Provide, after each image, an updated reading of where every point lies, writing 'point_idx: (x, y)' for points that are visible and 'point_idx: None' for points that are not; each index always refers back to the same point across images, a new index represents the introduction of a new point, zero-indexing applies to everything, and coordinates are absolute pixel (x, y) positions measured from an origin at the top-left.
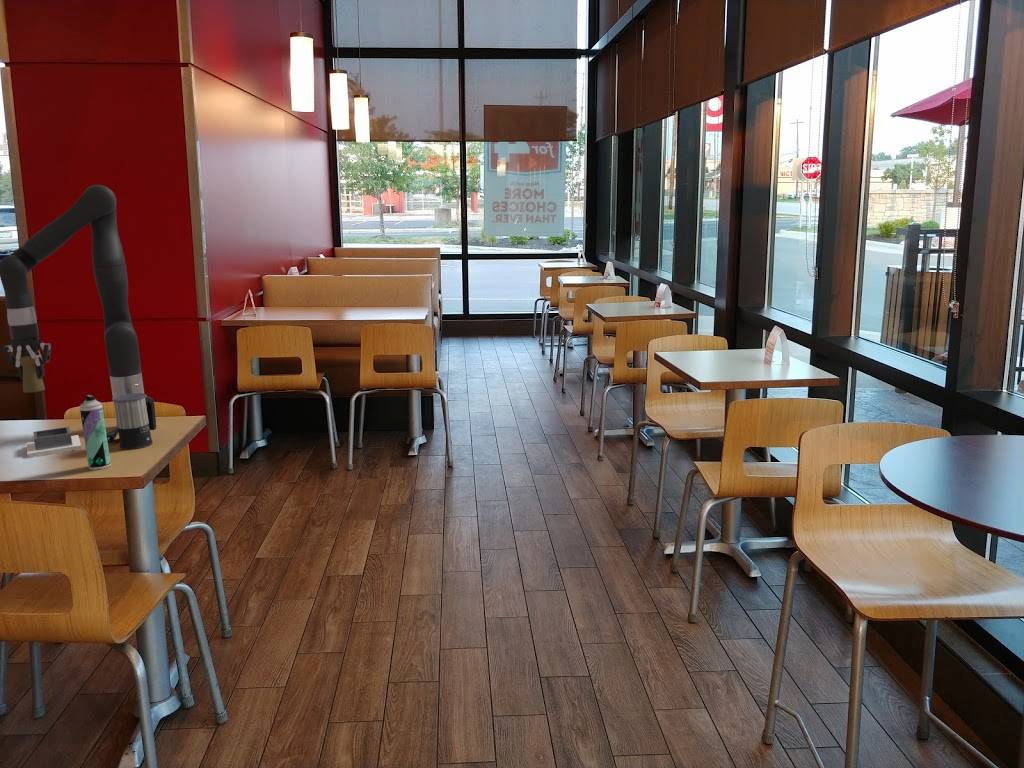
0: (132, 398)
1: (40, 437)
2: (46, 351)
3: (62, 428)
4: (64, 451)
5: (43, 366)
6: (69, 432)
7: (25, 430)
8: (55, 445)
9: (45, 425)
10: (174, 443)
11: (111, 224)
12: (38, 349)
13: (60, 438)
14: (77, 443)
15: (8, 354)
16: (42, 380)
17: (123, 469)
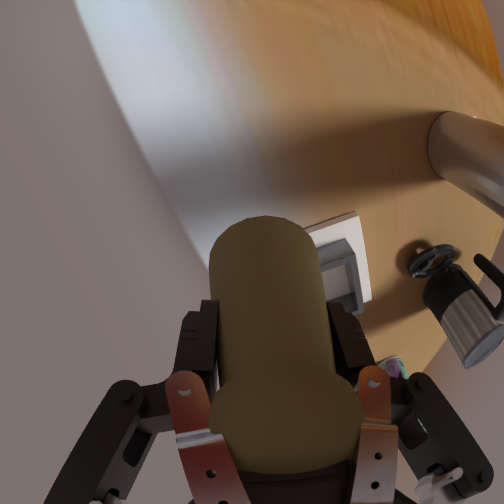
0: (485, 352)
1: None
2: (433, 466)
3: (340, 265)
4: None
5: (373, 363)
6: (361, 305)
7: (151, 66)
8: None
9: (194, 17)
10: (477, 285)
11: None
12: (394, 494)
13: None
14: (364, 286)
15: (125, 488)
16: (323, 286)
17: (408, 367)
